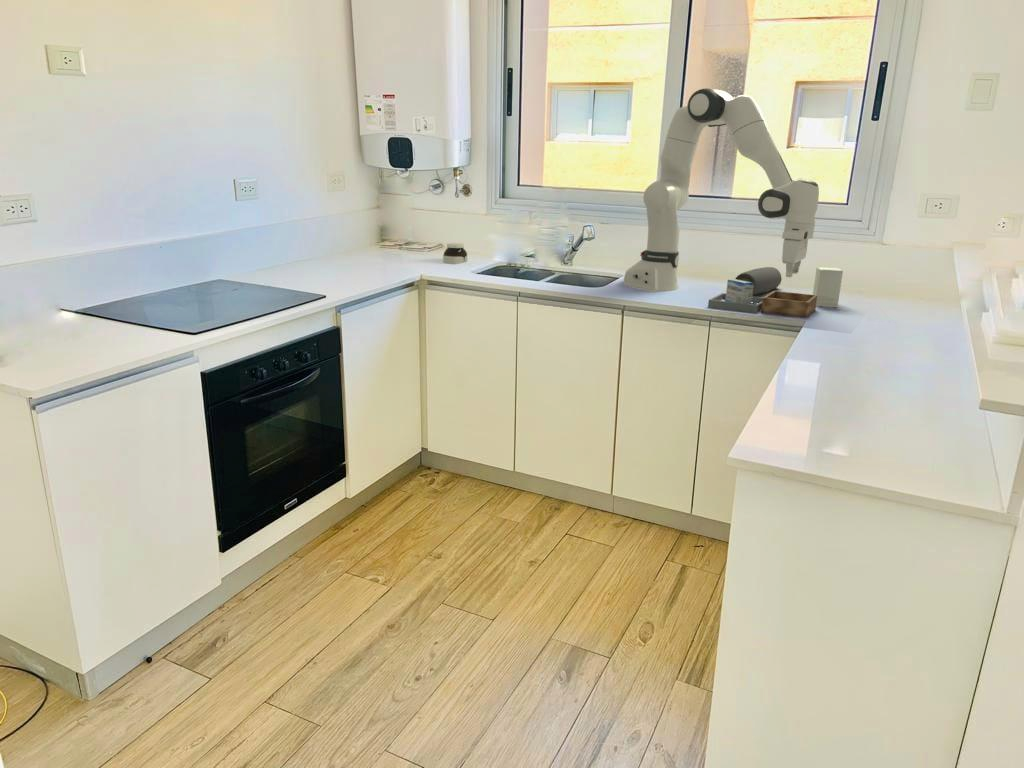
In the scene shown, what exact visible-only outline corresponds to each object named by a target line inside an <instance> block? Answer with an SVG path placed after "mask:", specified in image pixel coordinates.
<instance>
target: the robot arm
mask: <svg viewBox="0 0 1024 768" xmlns="http://www.w3.org/2000/svg"><path fill="white" fill-rule="evenodd" d="M726 125H727V128H728V130H729V132H730V135H731V138H732V141H733V143H734V146H735V148H736V150H738V152H739V153H740V155H741V156H743V157H745V158H746V159H748V160H751V161H753V162H754V163H755V164H757V165H759V166H760V167H761V168H762V169H763V170H764V172H765V174H766V176H767V178H768V181H769V182H770V185H771V187H772V188H769V189H767V190H765V191H763V192H762V193H761V194H760V196H759V198H758V201H757V207H758V211H759V213H760V214H761V216H762V217H764V218H767V219H769V220H771V219H772V220H775V219H777V220H780V219H785V221H784V222H785V223H784V230H783V231H782V235H781V236H782V237H781V239H783V243H782V253H781V254H782V255H781V257H782V258H781V261H782V263H783V264H785V271H786V272H785V277H786V278H792V277H793V274H795V275H797V274H798V273H799V271H800V270H799V269H800V267H801V263H802V260H804V259H806V256H807V253H808V252H807V251H808V243H809V240H810V239H813V238H814V232H815V224H816V220H815V218H816V217H815V216H816V212H817V210H818V205H819V196H820V195H819V194H820V189H819V188H820V187H819V184H817V182H815V181H814V180H811V179H807V178H802V177H801V178H794V179H792V177H791V175H790V172H789V171H788V168H787V167H786V165H785V161H784V160H783V158H782V155H781V153H780V151H779V150H778V148H777V146H776V144H775V142H774V140H773V138H772V136H771V133H770V130H769V128H768V125H767V122H766V120H765V118H764V115H763V113H762V111H761V108H760V107H759V105H758V104H757V102H756V101H755V99H754V98H753V97H752V96H750V95H749V94H748V95H747V94H741V95H738V96H734V95H733V94H731V93H729V92H726V91H724V90H721V89H711V88H701V89H698V90H696V91H694V92H693V93H692V94H691V96H689V99H688V102H687V106H681V107H679V108H678V109H677V110H676V111H675V112H674V115H673V117H672V119H671V122H670V124H669V126H668V130H667V133H666V136H665V141H664V144H663V149H662V152H661V156H660V175H659V176H660V177H659V180H656V181H654V182H652V183H651V184H650V185H648V186H647V188H646V189H645V190H644V193H643V203H644V205H645V208H646V209H645V210H646V217H647V242H646V243H647V246H646V249H644V250H643V251H642V252H640V256H641V259H640V260H639V261H638V262H636V263H635V264H633V265H632V266H631V267H629V268H628V269H627V270H626V271H625V273H624V276H623V281H622V285H624V286H626V287H627V288H632V289H635V290H641V291H645V292H650V293H651V292H654V293H655V292H672V291H677V290H679V283H678V271H677V270H678V269H677V268H678V265H679V259H680V258H679V257H680V255H679V253H680V252H679V251H678V250H679V239H680V226H679V224H678V214H677V213H678V212H677V211H679V210H680V209H681V208H683V207H684V205H685V204H686V203H688V200H689V198H690V197H689V195H690V193H689V192H690V191H689V188H690V181H691V172H692V167H693V166H692V165H693V163H694V158H695V155H696V152H697V147H698V143H699V140H700V136H701V134H702V131H703V129H705V128H706V127H709V128H714V127H722V126H726ZM640 256H639V257H640Z"/></svg>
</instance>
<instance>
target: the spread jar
mask: <svg viewBox="0 0 1024 768" xmlns="http://www.w3.org/2000/svg"><path fill="white" fill-rule="evenodd" d="M464 246H465V245H464V243H463V242H448V243H446V247H447V248H445V251H444V253H443V255H442V257H443V258H442V259H443V261H442V262H443V263H444V264H449V265H460V264H465V263H467V262H468V252H467V251H466V249H465V248H464Z"/></svg>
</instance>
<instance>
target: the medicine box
mask: <svg viewBox="0 0 1024 768" xmlns="http://www.w3.org/2000/svg"><path fill="white" fill-rule="evenodd" d="M753 286H754V283H752V282H747V281H742V280H737V279H735V278H730V279H727V285H726V290H725V291H726V292H725V293H726V299H724V301H727V302H735V303H744V304H752V303H751V302H752V294H753Z"/></svg>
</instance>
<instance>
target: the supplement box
mask: <svg viewBox="0 0 1024 768" xmlns="http://www.w3.org/2000/svg"><path fill="white" fill-rule="evenodd" d="M843 272H844V270H842V269H840V268H839V267H827V266H826V267H822V266H821V267H818V266H817V267H816V270H815V276H814V284H813V290H812V291H813V292H812V295H817V302H816V307H818V306H823V307H822V308H833V307H837V308H838V305H839V299H840V293H841V287H842V279H843Z"/></svg>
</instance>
